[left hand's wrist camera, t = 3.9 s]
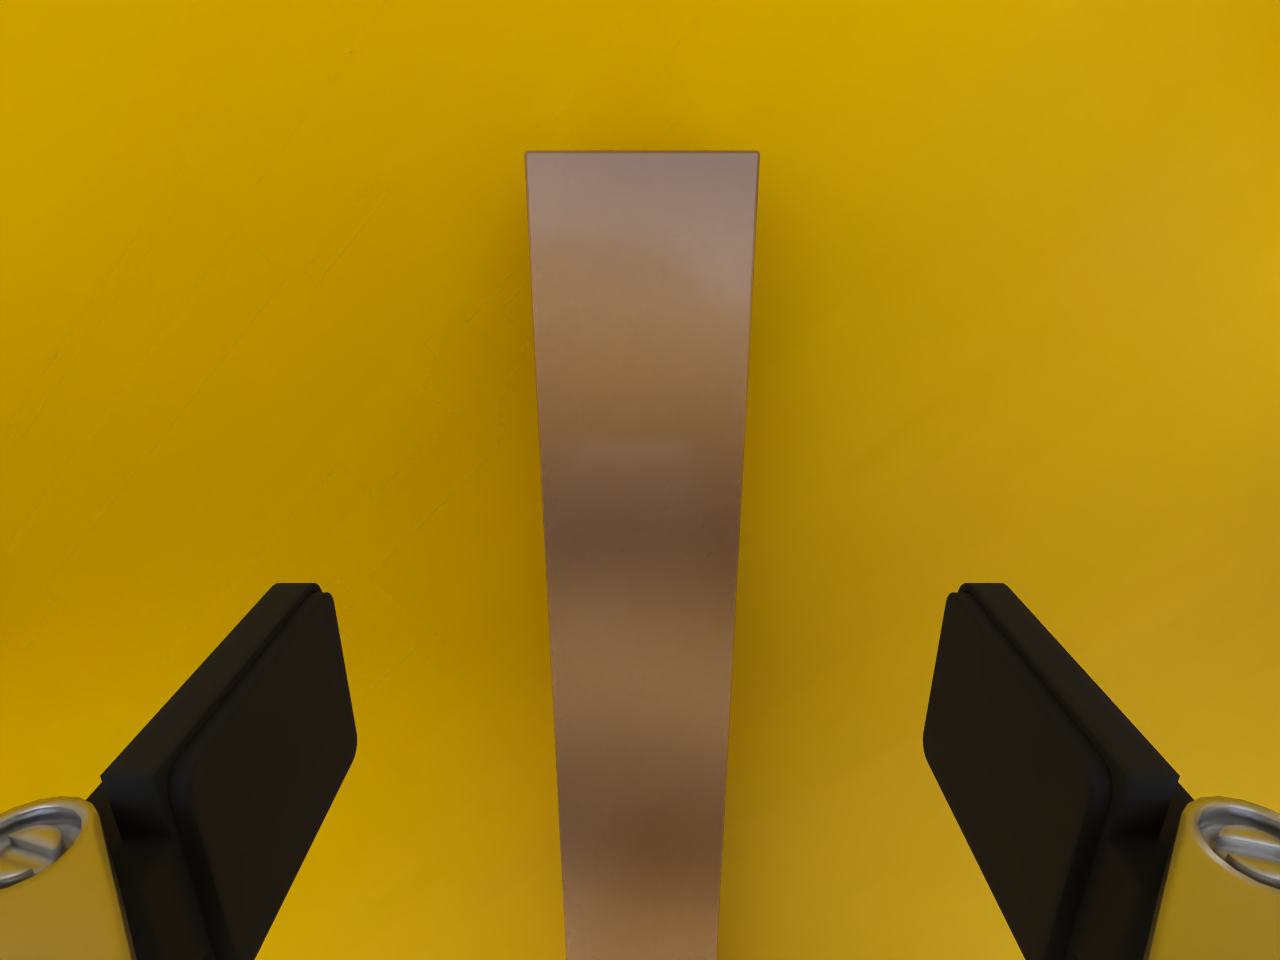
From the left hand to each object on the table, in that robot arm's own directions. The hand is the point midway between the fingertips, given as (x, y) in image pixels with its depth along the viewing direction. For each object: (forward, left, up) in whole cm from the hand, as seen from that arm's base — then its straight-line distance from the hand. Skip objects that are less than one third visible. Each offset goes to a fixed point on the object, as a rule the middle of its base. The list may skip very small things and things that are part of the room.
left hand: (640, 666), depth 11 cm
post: (-14, -15, -14) cm, 25 cm away
